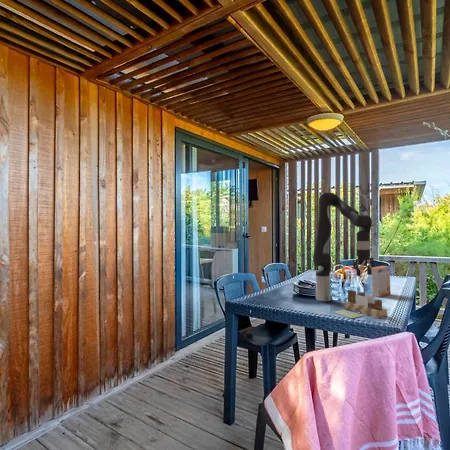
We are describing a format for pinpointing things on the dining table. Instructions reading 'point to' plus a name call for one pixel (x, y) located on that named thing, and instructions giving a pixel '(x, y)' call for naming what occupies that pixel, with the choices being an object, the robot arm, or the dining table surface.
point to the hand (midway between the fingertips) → (363, 275)
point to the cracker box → (381, 281)
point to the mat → (347, 314)
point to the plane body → (373, 309)
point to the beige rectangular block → (364, 299)
